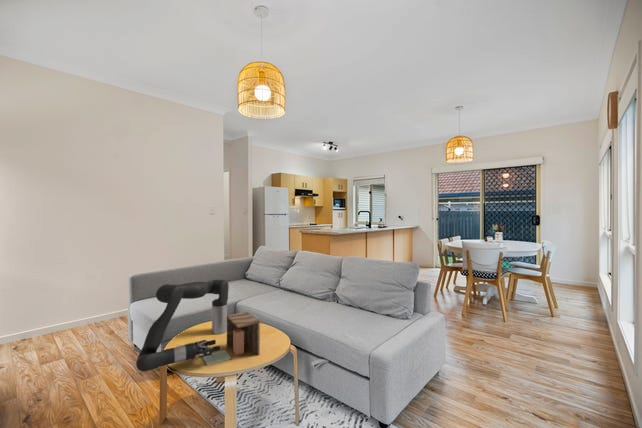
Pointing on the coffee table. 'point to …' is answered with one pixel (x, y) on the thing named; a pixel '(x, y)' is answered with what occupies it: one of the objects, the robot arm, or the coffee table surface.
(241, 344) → the terracotta block
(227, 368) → the coffee table surface
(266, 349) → the coffee table surface
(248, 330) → the walnut box
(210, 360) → the sage mat
